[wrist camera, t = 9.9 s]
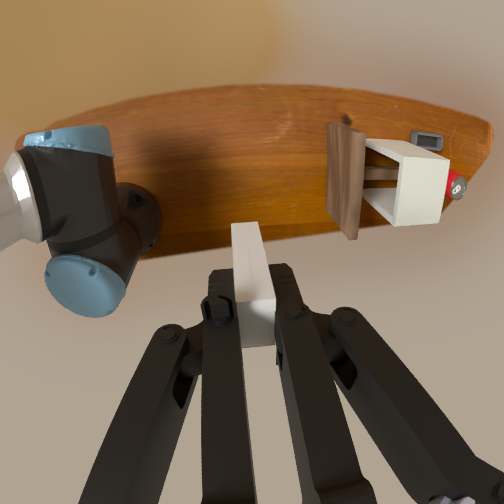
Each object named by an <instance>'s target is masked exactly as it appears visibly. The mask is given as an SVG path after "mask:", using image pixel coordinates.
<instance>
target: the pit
mask: <svg viewBox="0 0 504 504" xmlns="http://www.w3.org/2000/svg"><path fill="white" fill-rule="evenodd" d="M410 143H411V144H414V145H416V146H419V147H421V148H423V149H428V150H438V151H442V146H443V136H442V135H439V134H435V133H428V132H421V131H413V130H411V137H410Z"/></svg>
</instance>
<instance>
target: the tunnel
mask: <svg viewBox="0 0 504 504" xmlns="http://www.w3.org/2000/svg"><path fill="white" fill-rule="evenodd" d="M365 146H367V147H369V148H371V149H373V150H375V151H377V152H379V153H381V154H383V155H386V156H388V157H390V158H392V159H394V160H396V161H397V162H399V173H398V182H397V188H367V189H363V192H362V198H364V199H365V200H366V201H367V202H368V203H369V204H370V205H371V206H373V207H374V208H375V209H376V210H377V211H378V212H379V213H380V214H381V215H382V216H383V217H385V218H386V219H387V220H388V221H389V222H390V223H391V224H392V225H393V226H394V227H398V226H409V225H410V226H411V225H422V224H435V223H439V219H440V215H441V211H442V206H443V201H444V195H445V190H446V184H447V178H448V171H449V164H450V160H448V159H446V158H444V157H442V156H440V155H437V154H435V153H433V152H430V151H428V150H426V149H423V148H421V147H419V146H416V145H414V144H411V143H408V142H406V141H399V140H385V139H367V138H366V144H365Z"/></svg>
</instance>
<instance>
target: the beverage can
mask: <svg viewBox="0 0 504 504" xmlns="http://www.w3.org/2000/svg"><path fill="white" fill-rule="evenodd" d="M466 187H467V184H466V180H465V179H464V178H463V176H462V175H460V174H459V173H457V172H455V171H453V170H451V169H449V171H448V178H447V184H446V190H445V195H446V196H447V197H449V198H450V199H452V200H459V199H461V198H462V197H463V196H464V194H465V192H466Z"/></svg>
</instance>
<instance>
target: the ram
mask: <svg viewBox="0 0 504 504" xmlns="http://www.w3.org/2000/svg"><path fill="white" fill-rule="evenodd" d="M327 125H328V152H327V193H326V211H327V212H328V214H329V215H330V216H331V217H332V219H333V220H334V221H335V223H336V224H337V225H338V227H339V228H340V229H341V231H342V232H343V233H344V235H345V236H346V237H347V239H348V240H356V239H357V237H358V229H359V221H360V212H361V202H362V192H363V180H398V173H399V167H391V166H364V164H365V144H366V133H364V132H361V131H358V130H355V129H353V128H350V127H346V126H343V125H340V124H337V123H327Z"/></svg>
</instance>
